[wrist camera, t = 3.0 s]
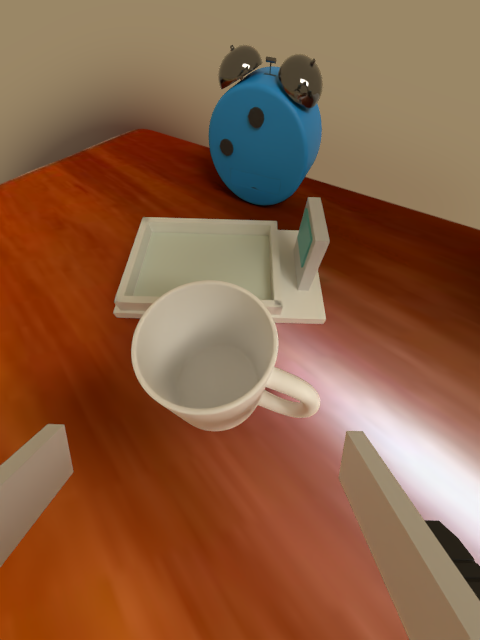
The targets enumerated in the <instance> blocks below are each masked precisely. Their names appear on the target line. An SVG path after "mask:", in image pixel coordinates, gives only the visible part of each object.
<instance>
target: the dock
mask: <svg viewBox="0 0 480 640" xmlns="http://www.w3.org/2000/svg"><path fill="white" fill-rule="evenodd" d="M329 242H330V240H329V235H328V231H327V226H326V221H325V217H324V212H323V207H322V203H321V198H317V197H308V199H307V203H306V207H305V210H304V214H303V218H302V221H301V225H300V228H299V231H298V230H278V229H277V221H261V220H227V219H192V218H157V217H143V218H142V221H141V224H140V227H139V230H138V233H137V236H136V239H135V241H134V244H133V247H132V250H131V253H130V256H129V259H128V262H127V265H126V268H125V271H124V274H123V276H122V279H121V282H120V285H119V288H118V291H117V294H116V297H115V300H114V303H115V304H116V306H115V309H114V311H113V313H114V314H115V316H116V317H117V318H141V317H142V316H143V314H144V313H145V311H146V310H147V309H148V308H149V307H150V306H151V304H152V303H153V302H155V301H156V300H157V299H158V298H159V297H161V296H162V295H163V294H165V293H167V292H168V291H170V290H172V289H174V288H176V287H178V286H181V285H184V284H187V283H191V282H196V281H204V280H215V281H223V282H228V283H232V284H235V285H237V286H240V287H242V288H244V289H246V290H248V291H249V292H251V293H252V294H253V295H255V296H256V297H257V298H258V299H259V300H260V301H261V302H262V303H263V304H264V305H265V306H266V308H267V309H268V310H269V312H270V314H271V315H272V317H273V320H274V322H275V323H306V324H323V323H324V322H325V320H326V316H325V310H324V304H323V298H322V292H321V286H320V280H319V274H318V268H319V265H320V263H321V261H322V259H323V256H324V254H325V252H326V249H327V247H328V245H329Z"/></svg>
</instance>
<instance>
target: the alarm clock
mask: <svg viewBox="0 0 480 640" xmlns="http://www.w3.org/2000/svg"><path fill="white" fill-rule="evenodd" d="M230 48H231V51H230V52H229V53H228V54H227V55H226V56H225V57H224V59H223V60H222V63H221V65H220V68H219V73H218V80H219V85H220V88H221V89H223V88H225V87H227V86H229V85H230V84H232V83H234V82H235V81H237V80H239V79H241V81H240V82H238V83H237V84H236V85H235V86H233V87H232V88H231V89H229V90H228V91H227V92H226V93H225V94H224V95H223V96H222V97H221V98H220V100H219V101H218V103H217V105H216V107H215V109H214V111H213V114H212V117H211V120H210V125H209V147H210V152H211V157H212V160H213V163H214V166H215V168H216V170H217V172H218V174H219V176H220V178H221V179H222V181H223V182H224V183H225V185H226V186H227V187H228V188H229V189H230V190H231V191H232V192H233V193H234V194H235V195H237V196H238V197H240V198H241V199H243V200H245V201H247V202H249V203H252V204H256V205H263V206H266V205H274V204H277V203H280V202H282V201H284V200H286V199H287V198H289V197H290V196H291V195H292V194H293V193H294V192H295V191H296V190H297V188H298V187H299V186H300V184H301V182H302V181H303V179H304V178H305V176H306V174H307V173H308V171H309V169H310V168H311V166H312V165H313V163H314V161H315V159H316V156H317V154H318V150H319V147H320V142H321V131H322V128H321V117H320V112H319V108H318V105H317V102H318V101H319V99H320V96H321V93H322V86H323V83H322V76H321V72H320V70H319V68H318V66H317V64H316V63H315V59H313V60H312V59H311V58H310V57H308V56H306V55H303V54H295V55H292V56H290V57H288V58H287V59H286V60H285V61H284V62H283V64H282V65H281V67H271V63H276V58H272V57H266V62H270V67H265V68H261V69H258V70H255V71H254V72H252V73H250V74H249V75H247V76H246V77H245V78H244V79H243V76H245V75H246V74H248V73H249V72H251V71H252V70H254V69H255V68H257V67H258V66H259V65H261V64H262V59H261V57H260V54H259V53H258V51H257V50H256V49H255V48H253V47H251V46H249V45H240V46H238V47H236V48H234V47H233V45H232V46H231V47H230Z"/></svg>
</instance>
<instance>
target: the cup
mask: <svg viewBox="0 0 480 640" xmlns="http://www.w3.org/2000/svg"><path fill="white" fill-rule="evenodd" d="M277 354H278V333H277V328H276V325H275V322H274V320H273V317H272V315H271V314H270V312H269V310H268V309H267V308H266V306H265V305H264V304H263V303H262V302H261V301H260V300H259V299H258V298H257V297H256V296H255V295H253V294H252V293H251V292H249V291H248V290H246V289H244V288H242V287H240V286H237V285H235V284H232V283H228V282H223V281H215V280H204V281H196V282H191V283H187V284H184V285H181V286H178V287H176V288H174V289H172V290H170V291H168V292H167V293H165V294H163V295H162V296H161V297H159V298H158V299H157V300H156V301H155V302H153V303H152V304H151V306H150V307H149V308H148V309H147V310H146V311H145V313H144V314H143V316H142V317H141V319H140V321H139V322H138V325H137V327H136V329H135V332H134V335H133V340H132V347H131V358H132V364H133V369H134V372H135V374H136V377H137V379H138V381H139V383H140V384H141V386H142V387H143V389H144V390H145V391H146V392H147V393H148V394H149V395H150V396H151V397H152V398H153V399H154V400H155V401H157V402H158V403H159V404H161V405H162V406H164V407H165V408H167V409H168V410H170V411H171V412H173V413H174V414H176V415H177V416H179V417H180V418H182V419H183V420H185V421H186V422H188V423H189V424H191V425H193V426H195V427H197V428H200V429H203V430H207V431H223V430H227V429H231V428H233V427H235V426H237V425H239V424H241V423H242V422H244V421H245V420H246V419H247V418H248V417H249V416H250V415H251V414H252V413H253V411H254V410H255V409H256V407H257V405H259V406H261V407H264V408H266V409H269V410H272V411H274V412H277V413H280V414H283V415H286V416H290V417H295V418H306V417H310V416H312V415H314V414H315V413H316V412H317V411H318V409H319V407H320V398H319V395H318V393H317V391H316V390H315V389H314V388H313V387H312V386H311V385H310V384H309V383H307V382H306V381H304V380H302V379H301V378H299V377H297V376H295V375H292V374H290V373H288V372H286V371H283V370H281V369H278V368H276V367H274V365H275V362H276V359H277ZM265 387H267V388H270V389H273V390H275V391H278V392H280V393H283V394H286V395H288V396H290V397H293V398H295V399H297V400H299V401H300V403H298V402H292V401H288V400H285V399H283V398H280V397H278V396H276V395H274V394H272V393H270V392H268V391H266V390H265Z"/></svg>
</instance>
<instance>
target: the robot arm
mask: <svg viewBox="0 0 480 640" xmlns="http://www.w3.org/2000/svg"><path fill="white" fill-rule="evenodd" d="M72 473H73V467H72V462H71V456H70V451H69V446H68V441H67V436H66V431H65V426H64V424H47V425H46V426H45V427H44V428H43V429H42V430H40V431H39V432H38V433H37V434H36V435H35V436H34V437H32V438H31V439H30V440H29V441H28V442H27V443H26V444H25V445H23V446H22V447H21V448H20V449H19V450H18V451H17V452H15V453H14V454H13V455H12V456H11V457H10V458H9V459H7V460H6V461H5V462H4V463H3V464H2V465H1V466H0V567H1V566H2V564H3V563H4V562H5V560H6V559H7V558H8V557H9V555H10V554H11V553H12V551H13V550H14V549H15V547H16V546H17V545H18V544H19V542H20V541H21V540H22V538H23V537H24V536H25V534H26V533H27V532H28V531H29V529H30V528H31V527H32V525H33V524H34V523H35V521H36V520H37V519H38V518H39V516H40V515H41V514H42V512H43V511H44V510H45V508H46V507H47V506H48V505H49V503H50V502H51V501H52V499H53V498H54V497H55V495H56V494H57V493H58V491H59V490H60V489H61V488H62V486H63V485H64V484H65V482H66V481H67V480H68V478H69V477H70V476H71V475H72ZM339 480H340V482H341V485H342V487H343V489H344V491H345V494H346V496H347V498H348V501H349V503H350V505H351V507H352V510H353V512H354V514H355V517H356V519H357V521H358V523H359V526H360V528H361V530H362V532H363V535H364V537H365V539H366V542H367V544H368V546H369V548H370V551H371V553H372V555H373V558H374V560H375V562H376V564H377V567H378V569H379V571H380V574H381V576H382V578H383V580H384V583H385V585H386V587H387V590H388V592H389V594H390V596H391V599H392V601H393V603H394V606H395V608H396V610H397V612H398V615H399V617H400V619H401V622H402V624H403V626H404V628H405V631H406V633H407V635H408V638H409V640H480V566H479V565H478V563H475V561H474V558H473V557H472V556H471V554H470V553H469V552H468V550H467V549H466V548H465V547H464V545H463V544H462V543H461V541H460V540H459V539H458V538H457V537H456V536H455V535H454V534H453V533H452V532H451V531H450V530H448V529H447V528H446V527H445V526H444V525H443V524H442V523H441V522H440V521H425V520H424V519H423V518H422V517H421V515H420V514H419V512H418V511H417V509H416V508H415V506H414V505H413V503H412V502H411V501H410V499H409V498H408V496H407V495H406V493H405V492H404V490H403V489H402V488H401V486H400V485H399V483H398V482H397V480H396V479H395V477H394V476H393V474H392V473H391V472H390V470H389V469H388V467H387V466H386V464H385V463H384V461H383V460H382V459H381V457H380V456H379V454H378V453H377V451H376V450H375V448H374V447H373V445H372V444H371V443H370V441H369V440H368V438H367V437H366V435H365V434H364V432H363V431H346V437H345V443H344V449H343V455H342V461H341V467H340V473H339Z"/></svg>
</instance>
